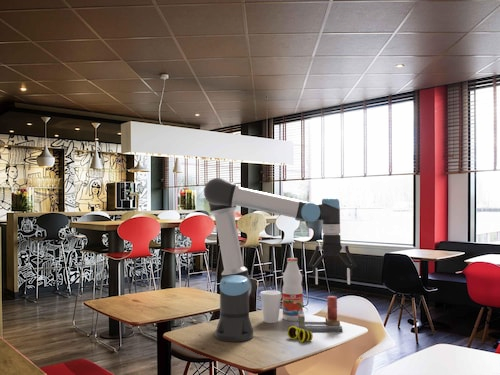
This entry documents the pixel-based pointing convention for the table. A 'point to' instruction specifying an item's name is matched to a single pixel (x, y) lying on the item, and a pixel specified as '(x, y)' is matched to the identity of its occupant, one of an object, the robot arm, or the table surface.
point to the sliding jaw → (332, 312)
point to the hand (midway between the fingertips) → (332, 283)
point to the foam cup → (270, 305)
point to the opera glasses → (299, 334)
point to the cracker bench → (316, 325)
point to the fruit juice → (292, 291)
